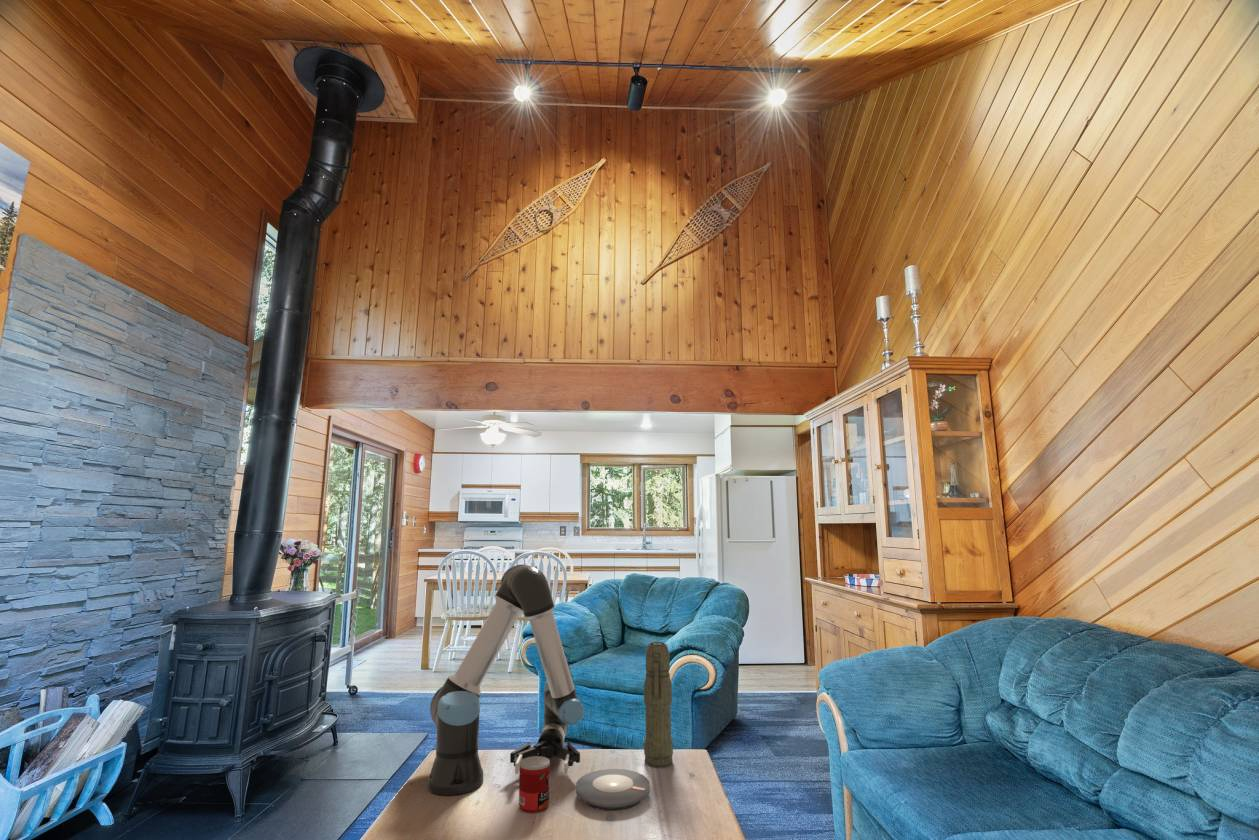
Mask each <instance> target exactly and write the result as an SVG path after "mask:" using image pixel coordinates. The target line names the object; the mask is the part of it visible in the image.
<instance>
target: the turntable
mask: <svg viewBox="0 0 1259 840" xmlns="http://www.w3.org/2000/svg"><path fill="white" fill-rule="evenodd" d="M650 783H651V782H650V781H649V779H648V777H646V776H645V775H644V774H642V773H639V772H637V771H634V770H630V769H624V768H603V769H599V770H593V771H590V772H588V773H586V774H584V775H583V776H580V777H579V778H578V780H577V781H576V783H575V793H576V796H577V798H578V799H580V800H581V801H583V802H584V803H585V802H586V803H589V804H592V805H596V806H602V807H621V806H628V805H632V804H635V803H638V802H640V801H641V802H642V801H644V800H645V799H646V798H647V797H648V796H649V794H650V792H651V791H650V790H651V788H650V785H651V784H650ZM641 802H640V803H641ZM586 803H585V804H586Z"/></svg>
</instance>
